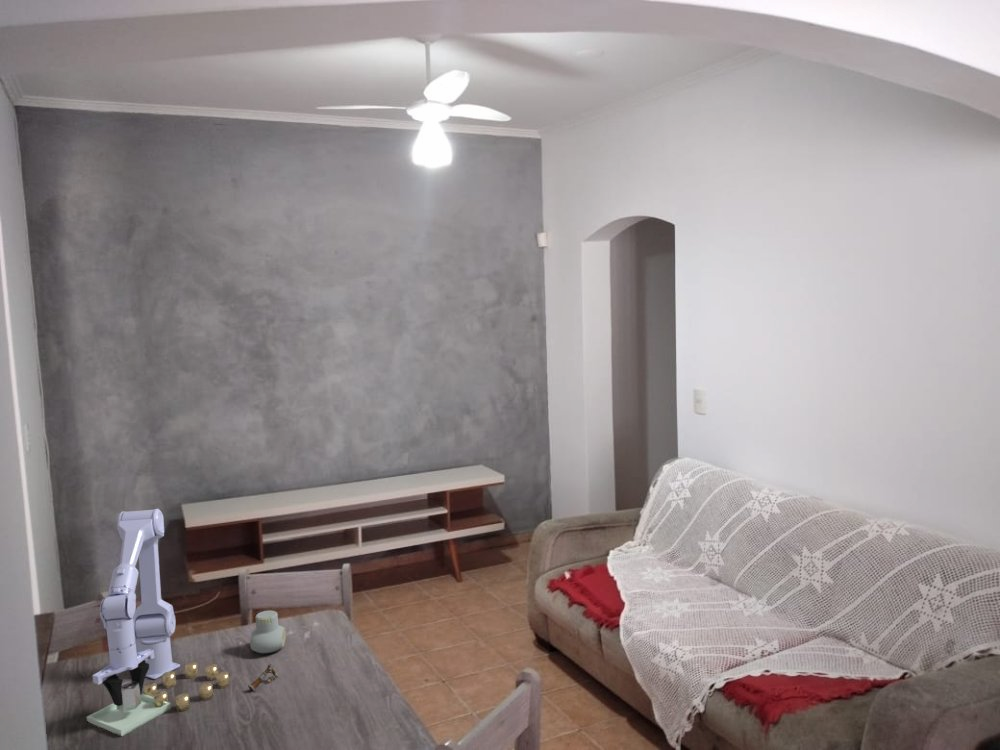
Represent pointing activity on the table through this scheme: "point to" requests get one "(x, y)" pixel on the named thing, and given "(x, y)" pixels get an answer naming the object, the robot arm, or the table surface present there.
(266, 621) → the air freshener
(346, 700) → the table surface
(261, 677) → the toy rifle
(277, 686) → the table surface
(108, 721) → the tray
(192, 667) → the set of brass balls
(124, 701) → the steel nut
